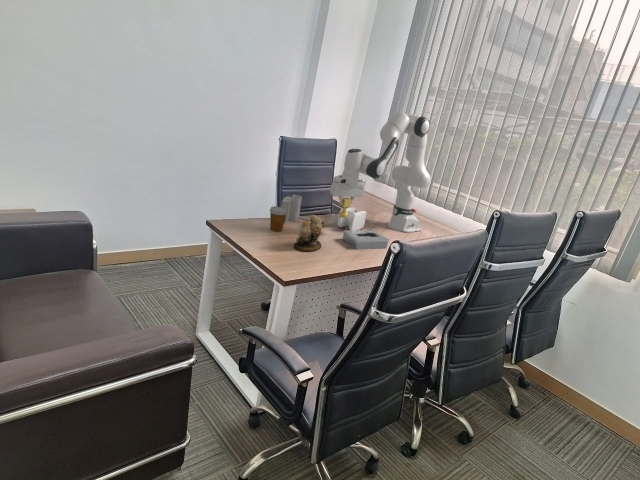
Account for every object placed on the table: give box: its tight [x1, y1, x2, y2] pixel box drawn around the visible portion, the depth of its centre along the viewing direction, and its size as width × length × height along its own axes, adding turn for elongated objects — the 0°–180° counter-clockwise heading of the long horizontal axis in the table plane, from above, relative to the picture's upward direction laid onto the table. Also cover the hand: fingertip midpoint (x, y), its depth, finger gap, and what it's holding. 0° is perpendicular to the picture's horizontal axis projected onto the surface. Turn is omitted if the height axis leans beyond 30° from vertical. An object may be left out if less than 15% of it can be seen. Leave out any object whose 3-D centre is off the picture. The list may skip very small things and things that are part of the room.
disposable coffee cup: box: [269, 206, 287, 233], centre depth 218 cm, size 10×10×12 cm
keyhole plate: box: [342, 229, 389, 250], centre depth 221 cm, size 20×14×5 cm
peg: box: [338, 197, 352, 218], centre depth 224 cm, size 4×4×10 cm
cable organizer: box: [336, 206, 367, 231], centre depth 241 cm, size 15×11×12 cm
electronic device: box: [280, 194, 325, 225], centre depth 237 cm, size 12×26×15 cm, turn 81°
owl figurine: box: [293, 214, 323, 253], centre depth 201 cm, size 18×12×17 cm, turn 148°
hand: (345, 203), depth 223 cm, fingers closed on peg, 4 cm apart
